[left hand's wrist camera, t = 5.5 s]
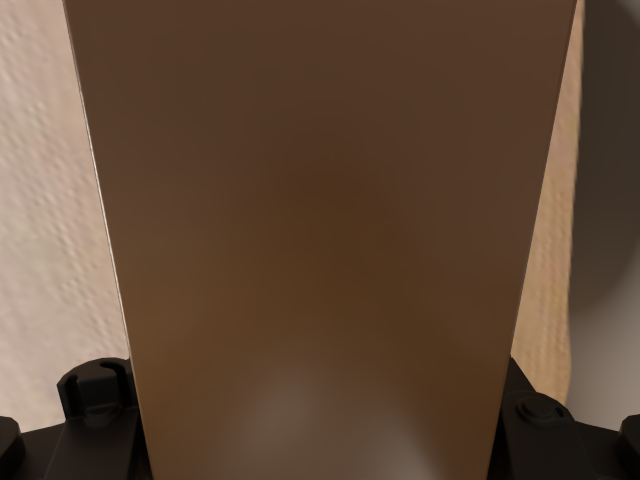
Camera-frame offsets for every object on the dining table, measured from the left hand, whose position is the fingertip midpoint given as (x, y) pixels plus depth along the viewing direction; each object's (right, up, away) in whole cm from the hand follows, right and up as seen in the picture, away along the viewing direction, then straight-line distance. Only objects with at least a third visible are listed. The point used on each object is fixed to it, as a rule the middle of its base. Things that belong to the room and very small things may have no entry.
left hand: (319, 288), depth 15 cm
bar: (0, +7, -2) cm, 7 cm away
